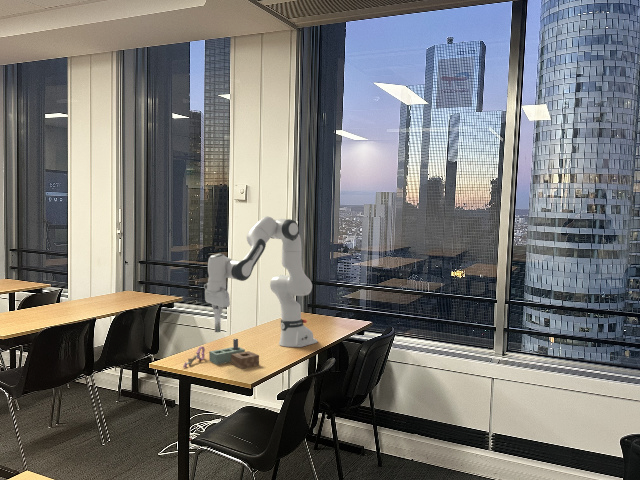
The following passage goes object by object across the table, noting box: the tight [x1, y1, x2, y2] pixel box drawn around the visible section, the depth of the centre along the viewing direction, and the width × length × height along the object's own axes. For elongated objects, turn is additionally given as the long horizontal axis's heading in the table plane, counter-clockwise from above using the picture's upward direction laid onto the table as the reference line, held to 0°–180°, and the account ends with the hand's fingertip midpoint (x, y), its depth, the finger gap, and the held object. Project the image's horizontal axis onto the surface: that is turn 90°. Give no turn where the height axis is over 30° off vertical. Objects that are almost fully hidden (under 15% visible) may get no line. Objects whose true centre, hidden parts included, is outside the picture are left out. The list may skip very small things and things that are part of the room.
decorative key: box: [182, 346, 206, 368], centre depth 272 cm, size 7×1×20 cm
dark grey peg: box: [232, 338, 239, 350], centre depth 281 cm, size 2×2×10 cm
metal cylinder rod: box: [213, 305, 222, 333], centre depth 273 cm, size 3×3×14 cm
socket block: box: [230, 350, 260, 370], centre depth 269 cm, size 10×10×5 cm
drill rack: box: [208, 346, 246, 366], centre depth 278 cm, size 16×8×5 cm, turn 128°
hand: (217, 313), depth 273 cm, fingers closed on metal cylinder rod, 3 cm apart
